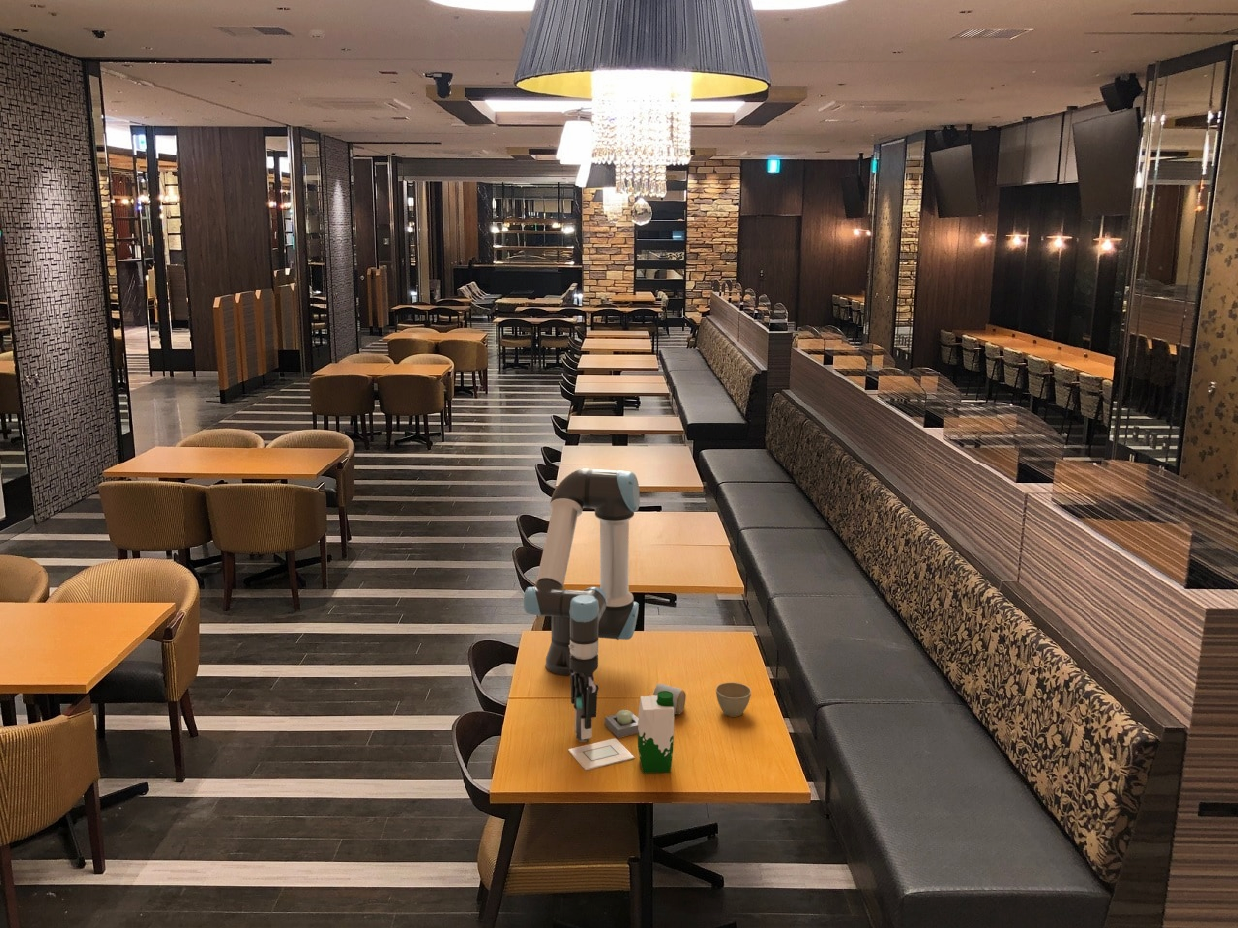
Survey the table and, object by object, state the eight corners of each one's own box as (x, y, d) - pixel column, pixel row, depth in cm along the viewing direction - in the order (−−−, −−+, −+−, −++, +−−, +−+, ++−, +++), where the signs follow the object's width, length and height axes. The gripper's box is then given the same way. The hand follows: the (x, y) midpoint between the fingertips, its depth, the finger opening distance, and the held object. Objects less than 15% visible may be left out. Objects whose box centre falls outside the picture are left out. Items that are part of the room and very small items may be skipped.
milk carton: (674, 774, 265) (677, 702, 260) (639, 775, 264) (640, 703, 259) (670, 756, 273) (672, 686, 268) (635, 757, 272) (637, 687, 268)
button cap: (614, 721, 288) (614, 711, 287) (627, 718, 290) (627, 708, 289) (621, 727, 285) (621, 717, 284) (634, 724, 286) (634, 714, 286)
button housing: (604, 724, 289) (605, 716, 289) (630, 718, 293) (630, 711, 292) (617, 737, 282) (618, 729, 282) (644, 731, 286) (644, 723, 285)
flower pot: (754, 709, 300) (755, 686, 298) (743, 724, 291) (744, 700, 289) (721, 701, 304) (722, 679, 302) (709, 716, 295) (710, 693, 293)
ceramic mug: (678, 719, 293) (679, 694, 291) (650, 714, 296) (651, 689, 294) (689, 704, 303) (690, 679, 301) (662, 699, 305) (663, 674, 304)
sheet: (568, 750, 275) (568, 748, 275) (615, 739, 282) (615, 737, 281) (585, 770, 266) (585, 768, 266) (634, 758, 272) (634, 756, 272)
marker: (573, 737, 282) (574, 697, 279) (586, 735, 283) (586, 694, 281) (579, 744, 279) (580, 703, 276) (592, 741, 280) (592, 700, 277)
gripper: (558, 644, 280) (558, 724, 286) (584, 668, 266) (583, 751, 272) (583, 639, 284) (582, 718, 289) (610, 663, 270) (609, 745, 275)
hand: (583, 734), depth 281 cm, fingers closed on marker, 3 cm apart
